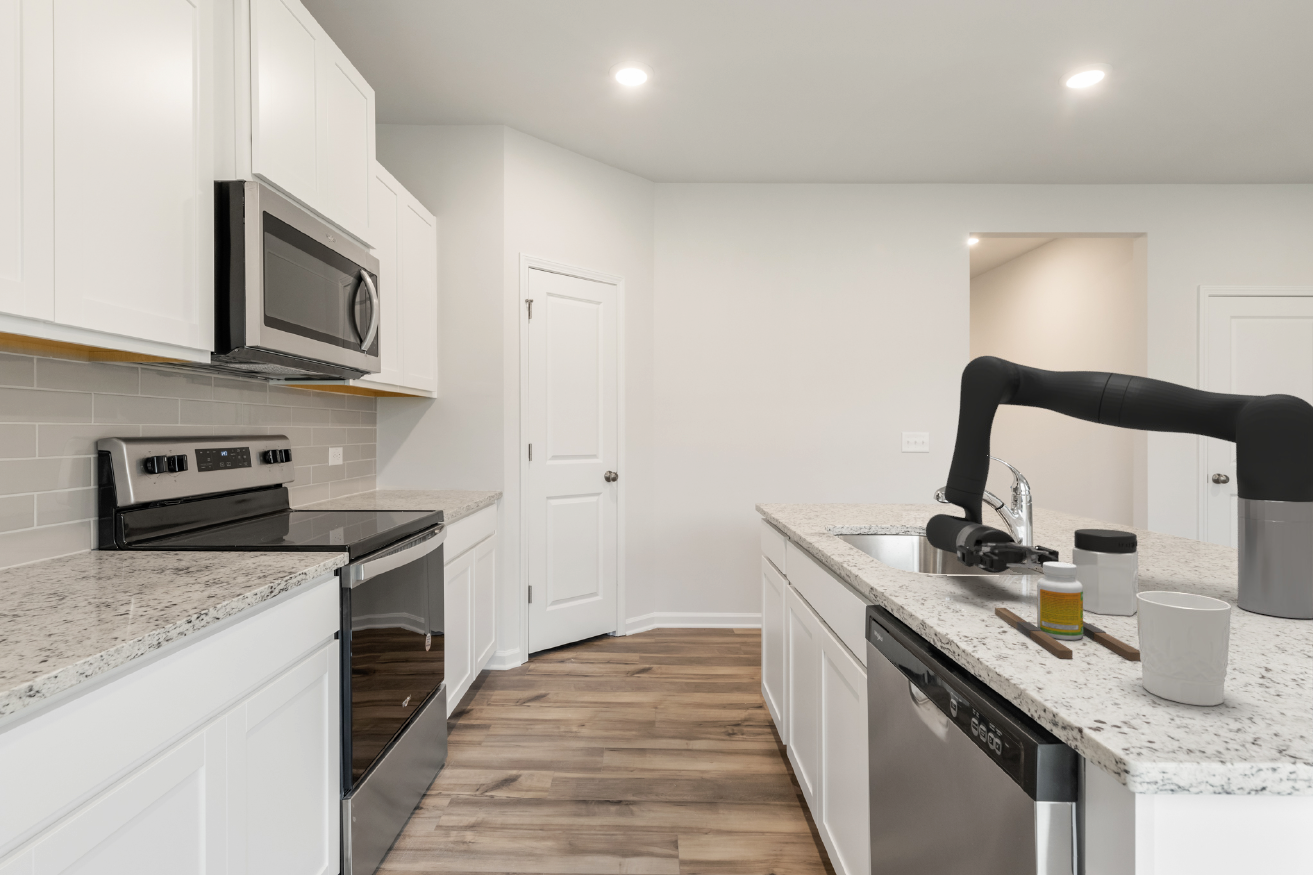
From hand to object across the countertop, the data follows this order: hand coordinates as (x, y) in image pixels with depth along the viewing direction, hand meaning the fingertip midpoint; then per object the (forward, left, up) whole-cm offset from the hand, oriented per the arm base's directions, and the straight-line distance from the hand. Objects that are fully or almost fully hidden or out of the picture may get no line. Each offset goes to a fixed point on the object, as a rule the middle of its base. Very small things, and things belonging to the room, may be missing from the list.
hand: (1025, 564), depth 101 cm
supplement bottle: (+6, +9, -8) cm, 13 cm away
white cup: (+13, +28, -8) cm, 32 cm away
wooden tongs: (+6, +10, -7) cm, 13 cm away
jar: (-13, +4, -8) cm, 16 cm away
